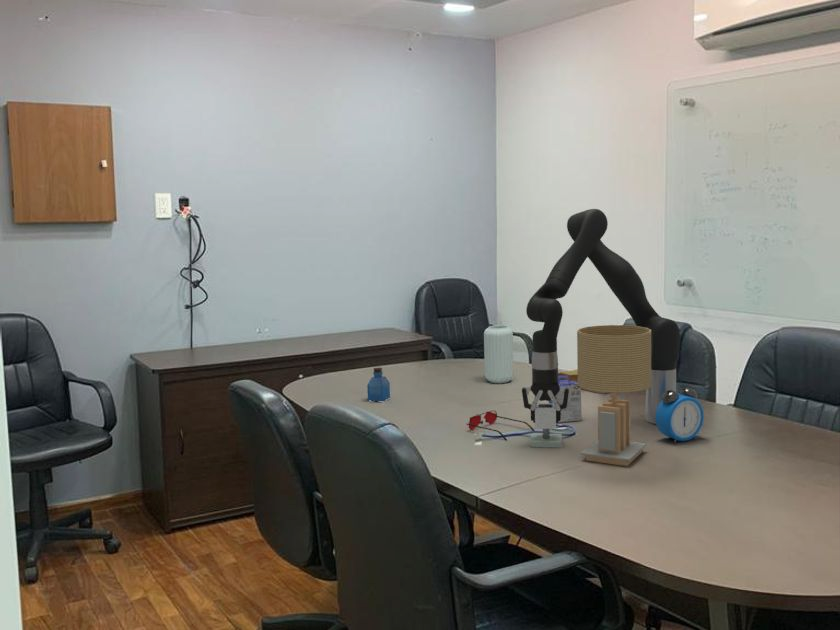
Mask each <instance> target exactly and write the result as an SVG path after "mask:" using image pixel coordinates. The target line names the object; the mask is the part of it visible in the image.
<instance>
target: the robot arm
mask: <svg viewBox="0 0 840 630" xmlns="http://www.w3.org/2000/svg"><path fill="white" fill-rule="evenodd" d="M608 222H609V221H608V217H607V216H606V214H605V213H604V212H603V210H600V209H598V208H591V209H586V210H583V211H580V212H577V213H575V214H572V215H571V216H570V217H568V219H567V222H566V228H567V229H566V230H567V232H568V235H569V236H570V238H571V239H572V241H573V243H572V244H571V245H570V247H569V248H568V249H567V250H566V251H565V252H564V253H563V255H562V256H561V257H560V258H559V259H558V260H557V261H556V263H555V264H554V266H553V267H552V269H551V271H550V272H549V274H548V276H547V278H546V280H545V282H544V283H543V284H542V285H541V286H540V287H539V289H538V290H537V291H536V292H534V294H533V295H532V296H531V297H530V299H529V301H528V302H527V306H526V308H525V309H526V310H525V311H526V316H527V318H528V319H529V320H530V321H533V322H535V323H536V322H537V323H543V327H542V329H540V330H539V329H538V330H535V331H533V332H532V354H531V376H532V377H531V382H532V383H531V386H528V387H525V386H523V387H522V388H521V393H522V394H521V396H522V401H523V408H525V409H528V410H529V411H530V421H532V423H534V424H535V407H536V405H537V403H539V401H540V402H541V401H542V402H543V401H548V402H549V401H551V400H552V402H553V404H554V406H555V407H556V424H559V422H558V421H560V420H561V410H562V409H566V408H567V401H568V394H569V388H568V387H566V388H562V387H560V386H559V384H558V373H559V358H558V357H559V356H558V334H559V330H560V325H561V322H562V318H563V313H564V312H563V307H562V304H561V302H560V301H559V300H558V299H562V298H564V297H565V296H566V295H567V293H568V292H569V289H570V288H571V287H572V284H573V282H574V281H575V280H574V279H575V278H576V276H577V274H578V272H579V271H580V270H581V268H582V266H583V264H584V263H585V261H586V260H587V258H588V259H589V260H590V262H591V263H592V264H593V266H594V267H595V269H596V270H597V271H598V273H599V274H600V276H601V277H602V278H603V280H604V281H605V283H606V285H608V287H609V289H610V290H611V292H612V293H613V294H614V295H615V297H616V298H617V299H618V301H619V303H621V305H622V306H623V308H624V309H625V311H627V313H628V314H629V315H630V317H631V318H632V321H633V322H634V324H635V326H638V327H644V328H648V329H650V330H651V386H650V388H648V389H646V390H645V421H646V422H647V423H651V424H655V425H657V424H656V411H657V408H658V406H659V404H660V403H661V401H662V395H663V393H665V392H666V391H668V390H674V391H676V392H677V363H678V361H679V357H680V345H681V344H680V342H681V334H680V328H679V326H678V324H677V322H676V321H675V320H672V319H670V318H666V317H662V316H661V315H660V314H658V313H657V311H656V310H655V309H654V307H653V306H652V305H651V303H650V302H649V300H648V298H647V295H646V289H645V287H644V283H643V281H642V279H641V277H640V275H639V274H638V272H637V271H636V270H635V268H634V267H633V265H632V264H631V263H630V262H629V261H628V260H627V259H625V258H624V257H622V256H621V255H619V254H618V253H616V251H613V250H612V249H610V248H609V247H608V246H607V245H605V243H604V242H603V241H602V238H603V237H604V235H605V234H606V232H607V229H608ZM559 391H561V393H562V395H564V398H563V404H559V402H558V400H557V398H556V395H557V394H558V392H559ZM530 392H531V393H532V394H533V395H534V397H533V401H532V403H529V399H528V395H529V394H530Z"/></svg>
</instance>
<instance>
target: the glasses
mask: <svg viewBox="0 0 840 630" xmlns="http://www.w3.org/2000/svg"><path fill="white" fill-rule="evenodd" d="M482 415H484V416H483V419H484V420H485V423H488V424H489V425H493V424H494V423H495V422H496V421H497V418H500V419H503V420H509V421H514V422H519V423H523V424H525V425H527V426H528V427H529V429H530V430H531V431H533V432H536V430H535V428H533V427H532V426H531V425H530V424H529V423H528V422H526V421H522V420H518V419H513V418H509V417H505V416H500V415H498V413H497V411H496V410H494V412H493V410H490V411H489V410H488V411H486V412H483V413H479V414H478V413H477V414H476V415H473V416H470V417H469V420H468V421H469V422H467V423H466V426H468V429H469V431H471V430H472V431H473V430H474V429H476V428H480V429H485V430H487V431H488V430H489V431H492V432H496V433H499V435H500V436H501V437H502V438H503V439H504V441H505V442H507V441H508V439H507V438H506V436H504V434H503V433H502V432H501V431H499V430H497V429H492V428H488V427H484V426H480V425H483V424H484V420H482Z"/></svg>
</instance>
